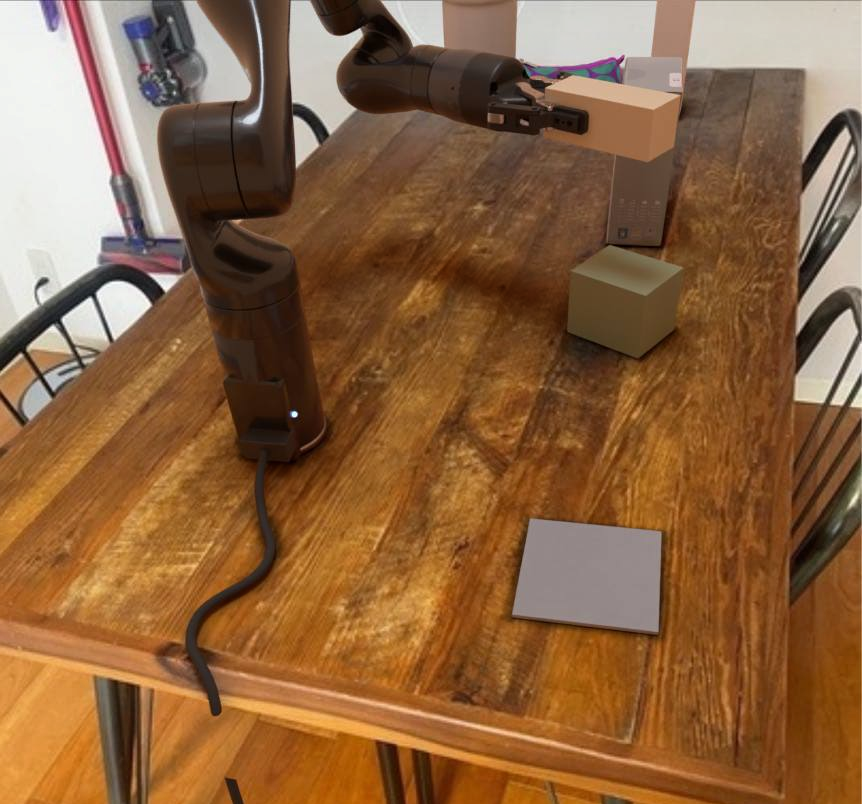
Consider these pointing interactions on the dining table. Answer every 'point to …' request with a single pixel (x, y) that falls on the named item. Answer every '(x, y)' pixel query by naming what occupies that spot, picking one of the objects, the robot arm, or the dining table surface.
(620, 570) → the mat
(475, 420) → the dining table surface
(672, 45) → the pink rectangular pillar
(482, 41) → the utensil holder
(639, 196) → the hard drive box
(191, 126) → the robot arm
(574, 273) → the block
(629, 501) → the dining table surface
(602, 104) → the carton
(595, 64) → the pencil case
